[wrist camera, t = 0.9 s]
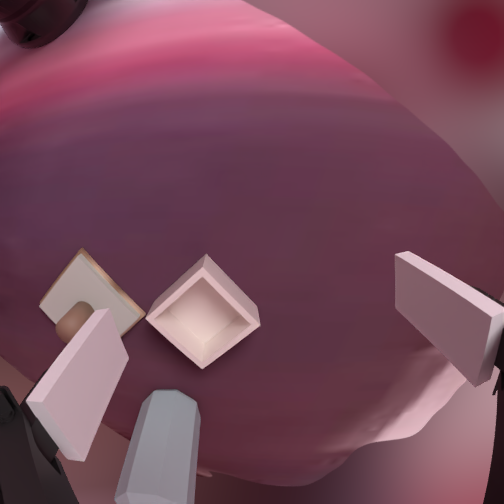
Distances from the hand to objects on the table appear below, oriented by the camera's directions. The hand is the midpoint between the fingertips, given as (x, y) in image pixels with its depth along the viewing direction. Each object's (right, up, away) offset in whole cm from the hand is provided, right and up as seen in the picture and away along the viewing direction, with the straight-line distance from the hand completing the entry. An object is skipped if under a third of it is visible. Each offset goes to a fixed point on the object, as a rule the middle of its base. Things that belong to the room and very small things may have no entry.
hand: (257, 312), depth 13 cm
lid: (-24, -6, +28) cm, 37 cm away
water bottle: (-14, -23, +34) cm, 43 cm away
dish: (-7, -4, +29) cm, 30 cm away
